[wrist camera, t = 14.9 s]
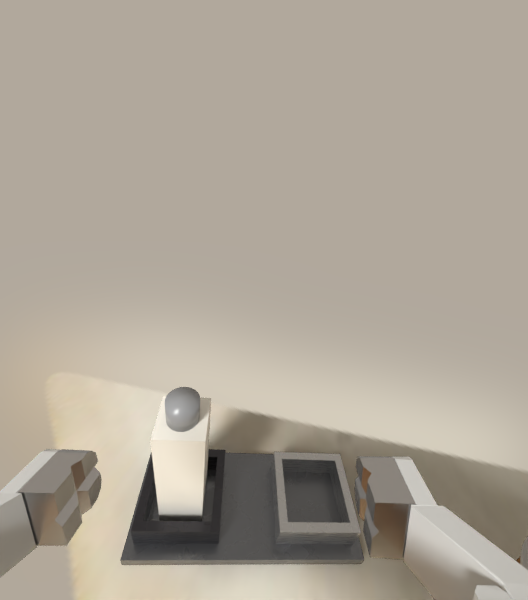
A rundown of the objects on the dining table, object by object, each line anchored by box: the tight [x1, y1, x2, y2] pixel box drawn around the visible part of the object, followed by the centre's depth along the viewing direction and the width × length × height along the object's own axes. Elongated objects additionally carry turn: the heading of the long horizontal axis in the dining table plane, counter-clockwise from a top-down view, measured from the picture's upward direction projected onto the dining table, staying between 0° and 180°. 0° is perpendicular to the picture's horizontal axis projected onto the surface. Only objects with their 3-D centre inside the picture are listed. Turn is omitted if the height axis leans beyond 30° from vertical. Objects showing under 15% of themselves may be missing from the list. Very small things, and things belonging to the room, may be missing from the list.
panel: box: [121, 449, 364, 565], centre depth 31 cm, size 22×10×4 cm, turn 92°
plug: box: [150, 387, 211, 521], centre depth 27 cm, size 4×4×15 cm
